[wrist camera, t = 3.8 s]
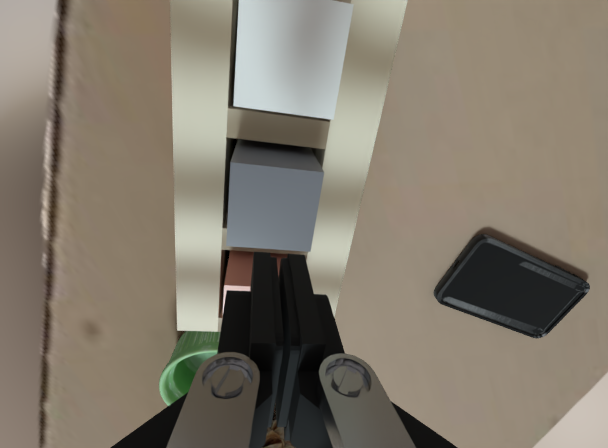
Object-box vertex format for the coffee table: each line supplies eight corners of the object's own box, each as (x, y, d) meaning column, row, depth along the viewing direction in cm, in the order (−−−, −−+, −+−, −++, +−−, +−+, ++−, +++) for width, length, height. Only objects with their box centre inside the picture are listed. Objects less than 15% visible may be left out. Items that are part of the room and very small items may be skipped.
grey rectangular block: (238, 138, 20) (230, 162, 15) (309, 146, 21) (324, 172, 16) (234, 205, 22) (226, 246, 17) (300, 211, 23) (310, 251, 18)
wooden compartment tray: (194, -32, 19) (168, -68, 14) (373, 4, 21) (411, -17, 16) (193, 280, 29) (177, 330, 23) (318, 286, 30) (330, 334, 25)
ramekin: (201, 297, 30) (191, 334, 26) (283, 336, 33) (286, 373, 29) (154, 361, 32) (139, 403, 28) (235, 391, 35) (232, 432, 31)
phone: (541, 340, 36) (432, 301, 32) (533, 332, 37) (427, 293, 33) (595, 285, 33) (484, 233, 29) (585, 278, 34) (476, 227, 30)
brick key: (232, 238, 23) (224, 285, 18) (295, 243, 24) (304, 289, 19) (229, 290, 25) (220, 345, 20) (287, 293, 26) (293, 347, 21)
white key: (246, 4, 17) (239, -19, 13) (329, 20, 18) (353, 4, 13) (240, 95, 19) (233, 106, 14) (316, 106, 20) (333, 119, 15)
